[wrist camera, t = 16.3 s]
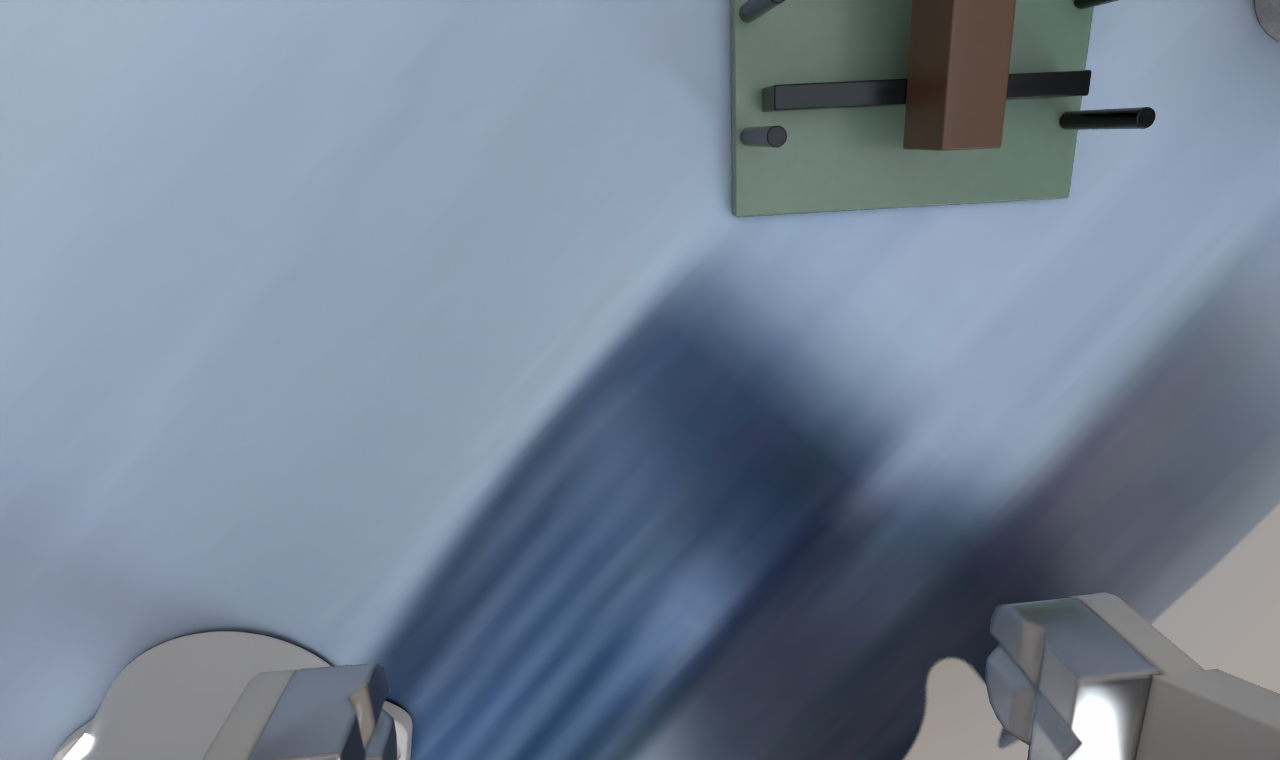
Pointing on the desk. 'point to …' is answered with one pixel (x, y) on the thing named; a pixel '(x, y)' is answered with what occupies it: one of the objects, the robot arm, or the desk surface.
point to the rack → (896, 109)
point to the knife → (958, 74)
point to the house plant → (1269, 16)
